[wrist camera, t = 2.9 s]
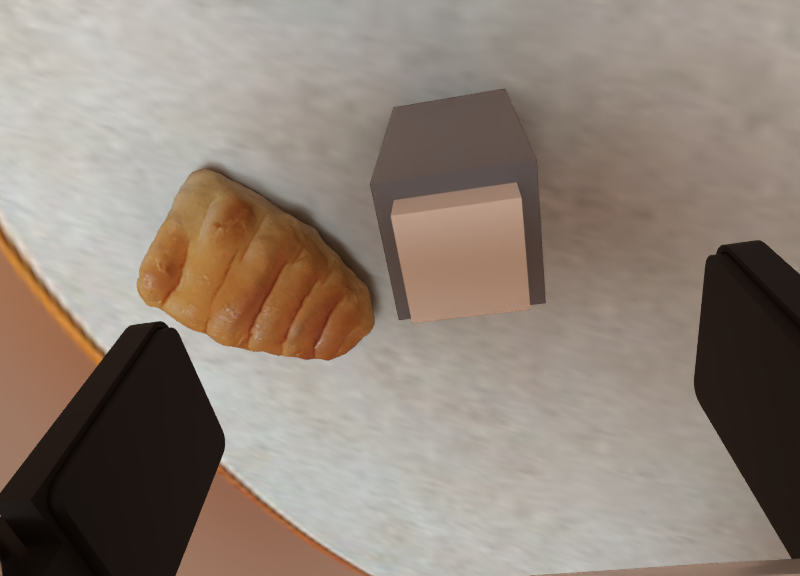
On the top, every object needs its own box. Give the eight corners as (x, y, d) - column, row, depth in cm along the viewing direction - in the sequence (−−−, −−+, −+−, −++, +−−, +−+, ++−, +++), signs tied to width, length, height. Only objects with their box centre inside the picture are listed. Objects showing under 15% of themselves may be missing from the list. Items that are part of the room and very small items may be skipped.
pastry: (406, 260, 24) (401, 308, 21) (336, 367, 28) (322, 424, 24) (197, 148, 23) (155, 183, 19) (147, 278, 26) (104, 326, 22)
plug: (513, 194, 23) (551, 323, 15) (411, 209, 23) (396, 340, 15) (504, 88, 21) (542, 173, 13) (393, 107, 21) (365, 199, 13)
